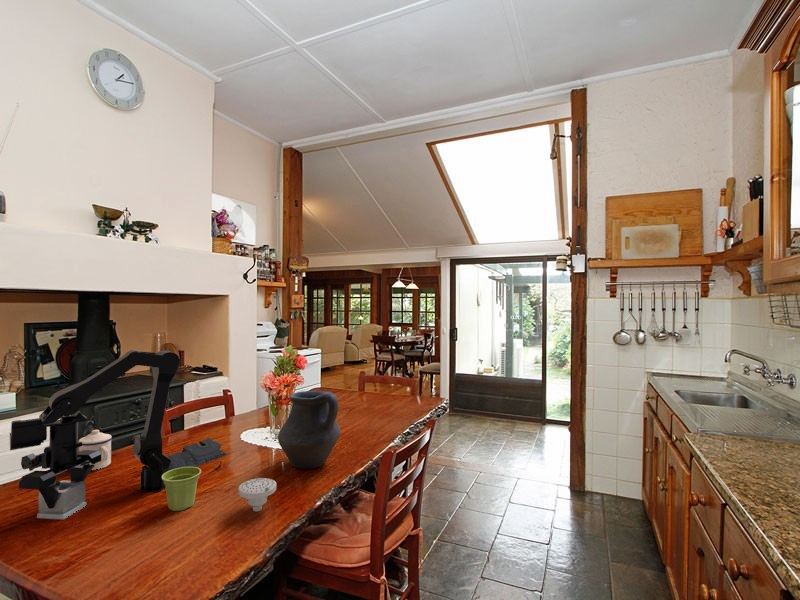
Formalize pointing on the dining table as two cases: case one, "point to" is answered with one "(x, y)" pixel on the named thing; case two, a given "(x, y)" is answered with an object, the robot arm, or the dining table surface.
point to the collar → (65, 497)
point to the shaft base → (61, 515)
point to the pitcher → (310, 429)
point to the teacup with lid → (98, 447)
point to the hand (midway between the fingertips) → (63, 501)
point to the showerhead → (257, 491)
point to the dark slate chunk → (196, 454)
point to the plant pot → (181, 487)
